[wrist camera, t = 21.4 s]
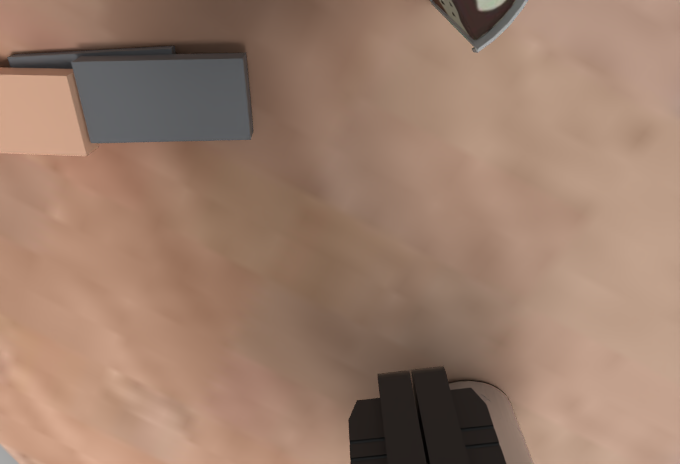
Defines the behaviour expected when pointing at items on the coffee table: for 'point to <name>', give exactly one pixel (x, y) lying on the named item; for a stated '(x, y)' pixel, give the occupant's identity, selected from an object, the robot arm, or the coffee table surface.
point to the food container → (480, 18)
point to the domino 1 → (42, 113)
